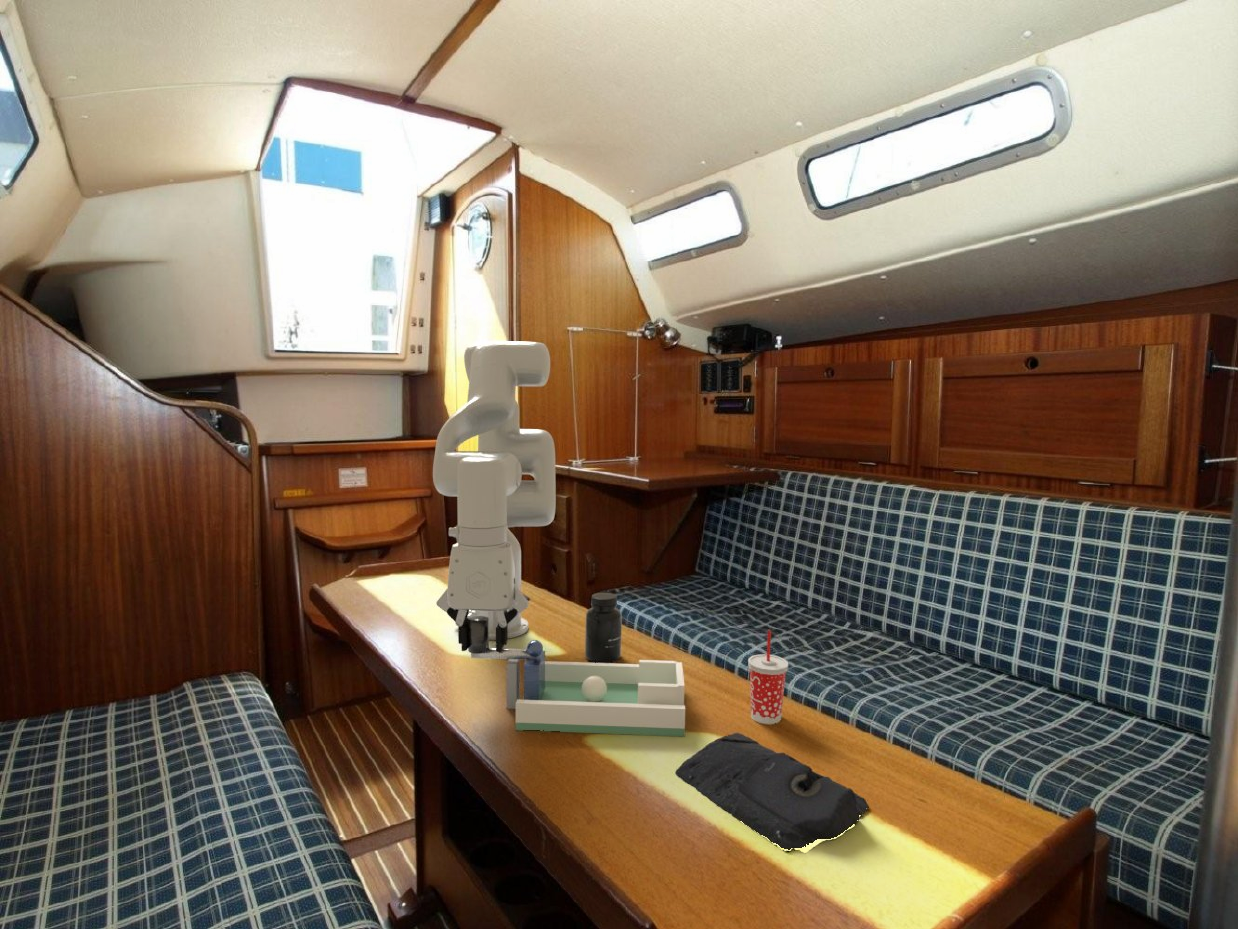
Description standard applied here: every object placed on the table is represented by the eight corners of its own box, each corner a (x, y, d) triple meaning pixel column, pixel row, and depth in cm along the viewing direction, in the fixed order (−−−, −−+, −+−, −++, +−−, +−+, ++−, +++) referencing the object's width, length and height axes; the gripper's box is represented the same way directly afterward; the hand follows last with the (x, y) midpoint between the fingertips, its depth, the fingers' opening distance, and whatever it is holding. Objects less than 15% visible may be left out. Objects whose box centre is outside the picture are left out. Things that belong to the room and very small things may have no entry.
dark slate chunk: (744, 741, 100) (746, 710, 100) (880, 817, 83) (882, 779, 82) (665, 775, 91) (666, 741, 90) (799, 868, 73) (801, 826, 73)
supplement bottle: (617, 666, 126) (618, 602, 124) (581, 662, 127) (581, 599, 126) (624, 652, 132) (625, 592, 131) (589, 649, 134) (590, 589, 132)
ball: (580, 706, 107) (580, 681, 106) (582, 694, 111) (583, 671, 110) (605, 707, 107) (606, 682, 106) (607, 695, 111) (607, 672, 110)
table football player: (463, 702, 107) (463, 625, 105) (473, 686, 112) (473, 613, 111) (539, 705, 106) (539, 627, 105) (545, 688, 112) (545, 615, 111)
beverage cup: (743, 707, 110) (746, 623, 108) (781, 708, 110) (785, 624, 108) (749, 726, 104) (752, 636, 102) (789, 727, 103) (793, 638, 102)
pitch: (496, 729, 101) (496, 682, 101) (517, 683, 117) (517, 642, 117) (684, 736, 100) (685, 688, 99) (679, 689, 116) (681, 647, 115)
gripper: (420, 539, 103) (422, 656, 105) (532, 542, 103) (532, 659, 105) (435, 529, 111) (437, 638, 113) (540, 532, 110) (539, 641, 112)
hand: (483, 647), depth 109 cm, fingers closed on table football player, 4 cm apart
